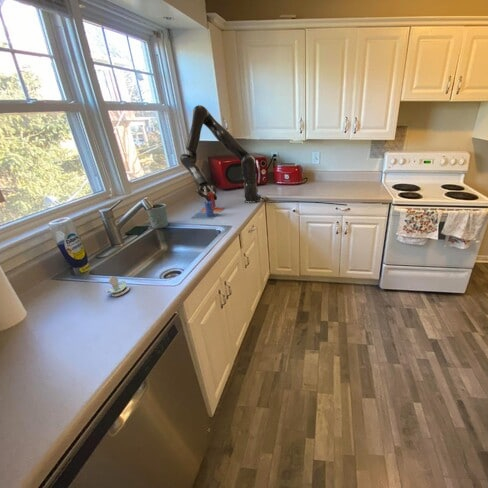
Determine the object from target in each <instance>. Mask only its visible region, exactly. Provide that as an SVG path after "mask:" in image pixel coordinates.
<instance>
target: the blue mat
mask: <svg viewBox="0 0 488 488" xmlns="http://www.w3.org/2000/svg"><path fill="white" fill-rule="evenodd" d="M218 213H219V212H214V216H213V217H207V215H206V212H198V213H196V214H195V215H194V216H192V217H191V218H192V219H214V218H215V217H216V216H217V215H218Z"/></svg>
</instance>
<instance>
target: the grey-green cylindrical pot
mask: <svg viewBox="0 0 488 488" xmlns="http://www.w3.org/2000/svg"><path fill="white" fill-rule="evenodd" d="M152 204H153V208H152V209H151V210H149V211H147V210H146V212H147V215H148V219H149V221H150V226H151V227H152V228H153V229H163V228H166V227H167V226H169V221H168V213H167V212H168V211H167V205H166V203H152Z"/></svg>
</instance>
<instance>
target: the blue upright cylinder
mask: <svg viewBox="0 0 488 488" xmlns="http://www.w3.org/2000/svg"><path fill="white" fill-rule="evenodd" d="M204 208H205V209H206V211H205V213H206V215H207V217H213V216H214V213H215V212H214V211H213V204H212V201H207V200H206V201H204ZM214 217H215V216H214ZM214 217H213V218H214Z"/></svg>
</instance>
